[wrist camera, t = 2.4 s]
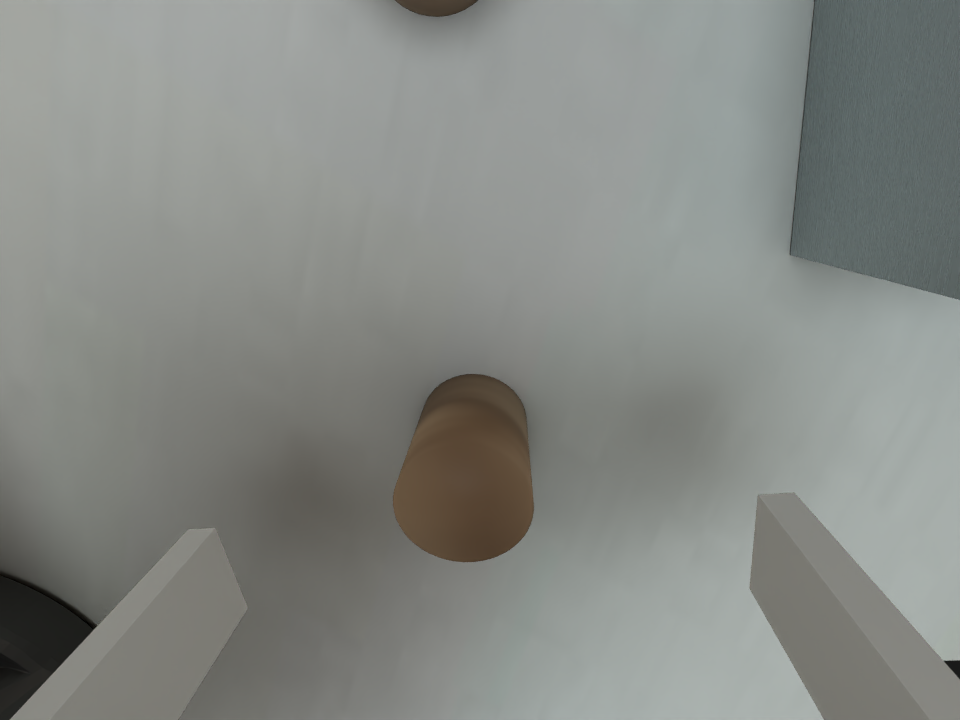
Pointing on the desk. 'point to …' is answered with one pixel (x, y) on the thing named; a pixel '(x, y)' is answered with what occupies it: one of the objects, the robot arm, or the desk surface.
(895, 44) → the grey block with socket
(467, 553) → the pellet
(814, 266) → the desk surface
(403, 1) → the pellet
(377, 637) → the desk surface
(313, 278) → the desk surface
